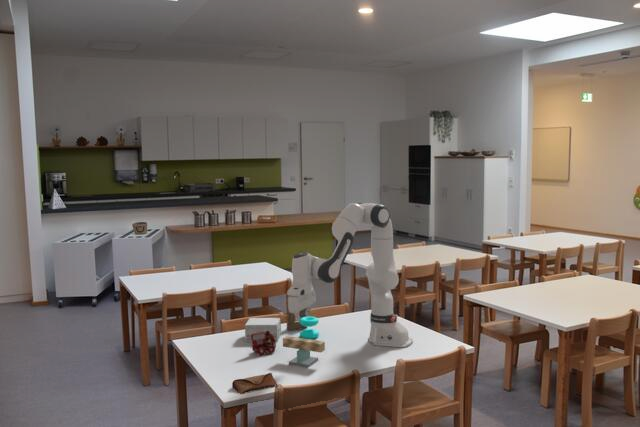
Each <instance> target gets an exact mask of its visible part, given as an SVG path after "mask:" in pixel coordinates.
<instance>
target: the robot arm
mask: <svg viewBox="0 0 640 427" xmlns="http://www.w3.org/2000/svg"><path fill="white" fill-rule="evenodd" d="M390 216H391V214H390V211H389V209H388V208H387V206H385V204H384V205H383V204H380V203H373V202H367V203H366V202H365V203H364V202H360V203H355V202H352V203H351V202H350V203H349V204H347V205H346V206H345V208H344V209H343V210H341V212H340V213H339V215H338V216H337V217H336V219H335V220H334V221H333V224H332V225H331V233H332V235H333V236H334V238H335V239H336V240H337V245H336V247H335V249H334V251H333V253H332V255H331V256H330V258H328V259H326V258H322V257H317V256H314V255H312V254H310V253H309V252H307V251H300V252H298V253H295V254H294V255H293V257H292V262H291V274H292V281H291V282H292V284H291V286H290V287H289V289H288V290H287V292H286V295H287V297H288V310H289V312H290V313H294V315H295V317H294V319H295V322H299V321H300V320H301V319H300V316H299V311H301V310H303V309H305V308H307V309H306V312H305V313H306V314H305V315H307V316H310V315H311V310H312V305H315V304H316V301H317V298H316V291H315V288H314V286H313V283H312V282H313V279H316V280H319V281H322V282H324V283H327V284H330V283H334V282H336V280H337V279H338V278H339V277H340V274H341V271H342V267H343V265H344V262H345V260H346V259H347V256H348V254H349V252H350V250H351V248H352V246H353V243H354V236H355V233H356V232H357V231H358V229H359V227H360V226H361V225H363V226H368V227H370V229H371V233H370V255H371V257H372V261H373V263H370V264H368V266H367V268H366V270H365V274H366V278H367V282H368V288H369V294H370V300H371V302H370V307H371V309H370V310H371V312H370V316H369V320H370V331H369V336H368V341H369V342H370V343H371V344H372V345H374V346H378V347H379V346H380V347H391V348H392V347H393V348H406V347H410V345H412V344H413V342H414V338H412V337H410V336H409V331H408V329H407V328H406V327H405V326H404V325H403V324H401V322H399V321H398V315H399V314H397V313H396V314H395V313H394V297H393V294H392V291H391V290H393V289H394V288H396V287H397V286H398V285H399V281H400V279H399V274H398V273H397V268H396V263H395V262H396V261H395V258H394V257H395V256H394V230H393V222H392V219H391V217H390Z"/></svg>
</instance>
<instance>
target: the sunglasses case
mask: <svg viewBox="0 0 640 427" xmlns="http://www.w3.org/2000/svg"><path fill="white" fill-rule="evenodd" d="M275 385H278V383H277V382H276V380H275V378H274V375H273V373H272V372H268V373H265V374H260V375H255V376H254V375H253V376H250V377H249V376H248V377H244V378H238V379H235V380H233V381H232V382H231V387H232V389H233V390H234V389H235V390H236V391H237V394H239V393H240V394H239V395H244V394H246V392H247V393H251V392H254V390H255V391H260V390H264V388H265V389H269V387H270V388H273V387H274V386H275ZM274 388H275V387H274ZM259 389H260V390H259ZM235 390H234V391H235ZM250 391H251V392H250Z"/></svg>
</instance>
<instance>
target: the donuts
mask: <svg viewBox="0 0 640 427" xmlns="http://www.w3.org/2000/svg"><path fill="white" fill-rule="evenodd" d="M319 320H320V319H318V317H316V316H310V315H308V316H307V317H303V318H301V320H300V321H298V322H300V324H301V325H303V326H306V327H307V328H305V329H301V331H300V332H299V338H303V339H310V340H315V339H317V338H318V337H319V335H320V333H319V331H318V330H317V329H315V328H310V327H314V326H315V327H316V325H318V323H319ZM308 327H309V328H308Z"/></svg>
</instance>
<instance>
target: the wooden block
mask: <svg viewBox="0 0 640 427" xmlns="http://www.w3.org/2000/svg"><path fill="white" fill-rule="evenodd" d="M288 297H289V296H287V297H286V308H287V309H286V310H287V311H286V314H287V316H286V318H287V322H286V330H287V331H296V330H304V329H308V327H306V326H303V325H301V324H300V322H299V321H295V315H294V313H290V312H289V310H288ZM306 309H307V308H305V309H303V310H301V311H299V316H300V319H301V318H303V317H307V315H305V314H306V313H305V312H306Z"/></svg>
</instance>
